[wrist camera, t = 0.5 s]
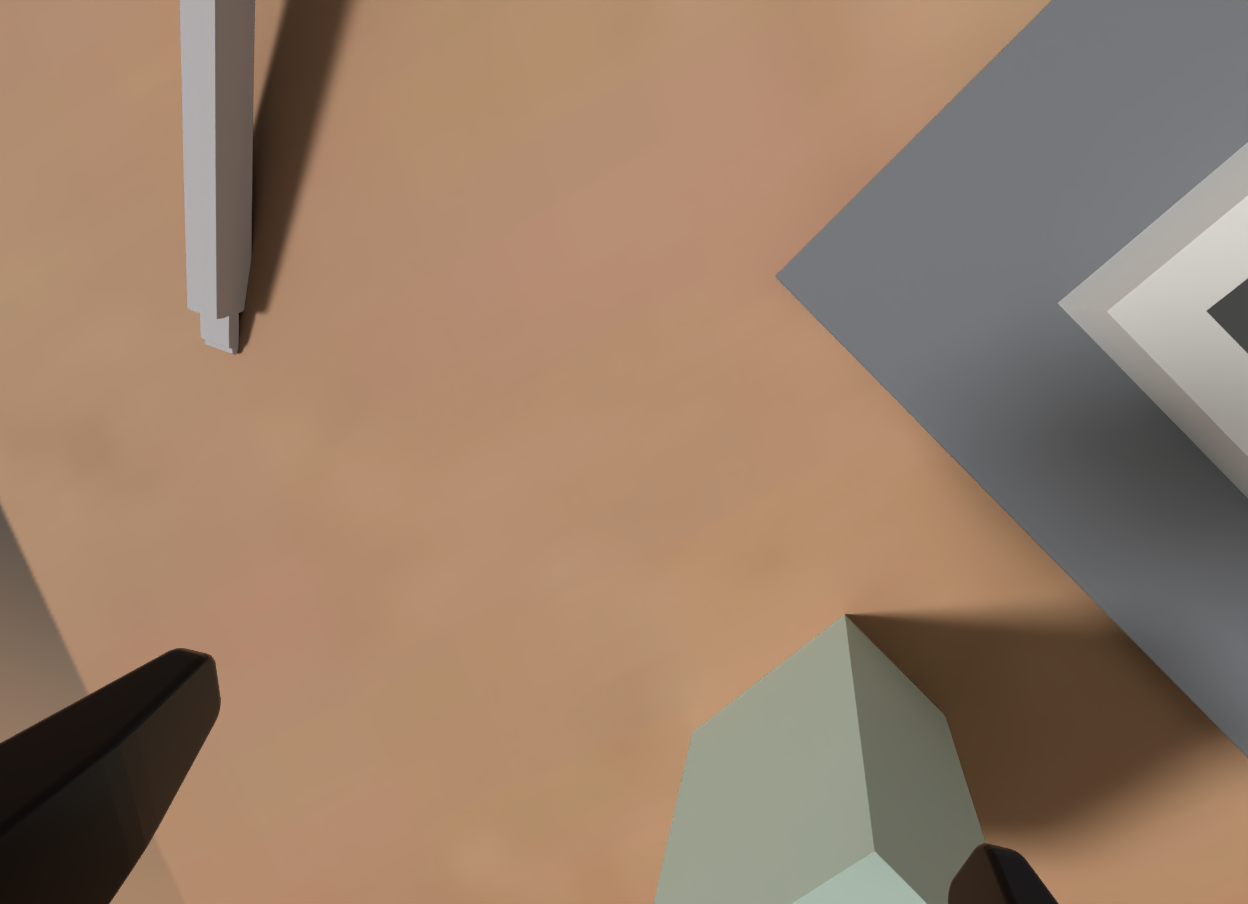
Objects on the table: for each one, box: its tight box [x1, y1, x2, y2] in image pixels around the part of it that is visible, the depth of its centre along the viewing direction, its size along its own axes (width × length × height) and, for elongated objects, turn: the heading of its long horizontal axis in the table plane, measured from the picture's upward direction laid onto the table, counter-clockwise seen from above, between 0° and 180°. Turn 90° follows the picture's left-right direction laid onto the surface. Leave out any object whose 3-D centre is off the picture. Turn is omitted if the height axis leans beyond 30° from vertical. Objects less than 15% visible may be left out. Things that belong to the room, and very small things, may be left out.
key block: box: [654, 614, 985, 904], centre depth 18 cm, size 4×6×9 cm, turn 136°
